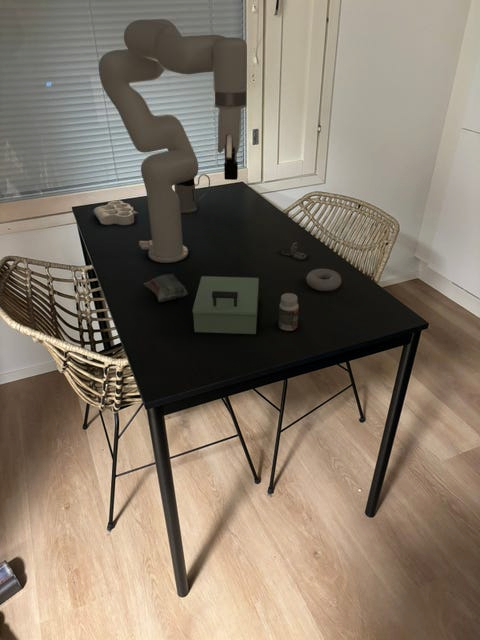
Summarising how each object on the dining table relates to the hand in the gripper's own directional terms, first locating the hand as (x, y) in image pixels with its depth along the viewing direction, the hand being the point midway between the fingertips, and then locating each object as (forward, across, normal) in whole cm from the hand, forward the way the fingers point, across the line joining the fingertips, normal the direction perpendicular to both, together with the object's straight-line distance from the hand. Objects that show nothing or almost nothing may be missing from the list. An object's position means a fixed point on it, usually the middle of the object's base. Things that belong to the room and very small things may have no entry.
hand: (231, 178), depth 124 cm
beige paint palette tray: (+31, -50, -47) cm, 76 cm away
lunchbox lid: (+25, +15, 0) cm, 29 cm away
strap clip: (+31, -22, +18) cm, 42 cm away
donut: (+31, -3, +26) cm, 41 cm away
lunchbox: (+31, +15, 0) cm, 35 cm away
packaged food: (+31, +6, -18) cm, 37 cm away
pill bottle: (+31, +19, +15) cm, 40 cm away
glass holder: (+31, -61, -20) cm, 71 cm away
